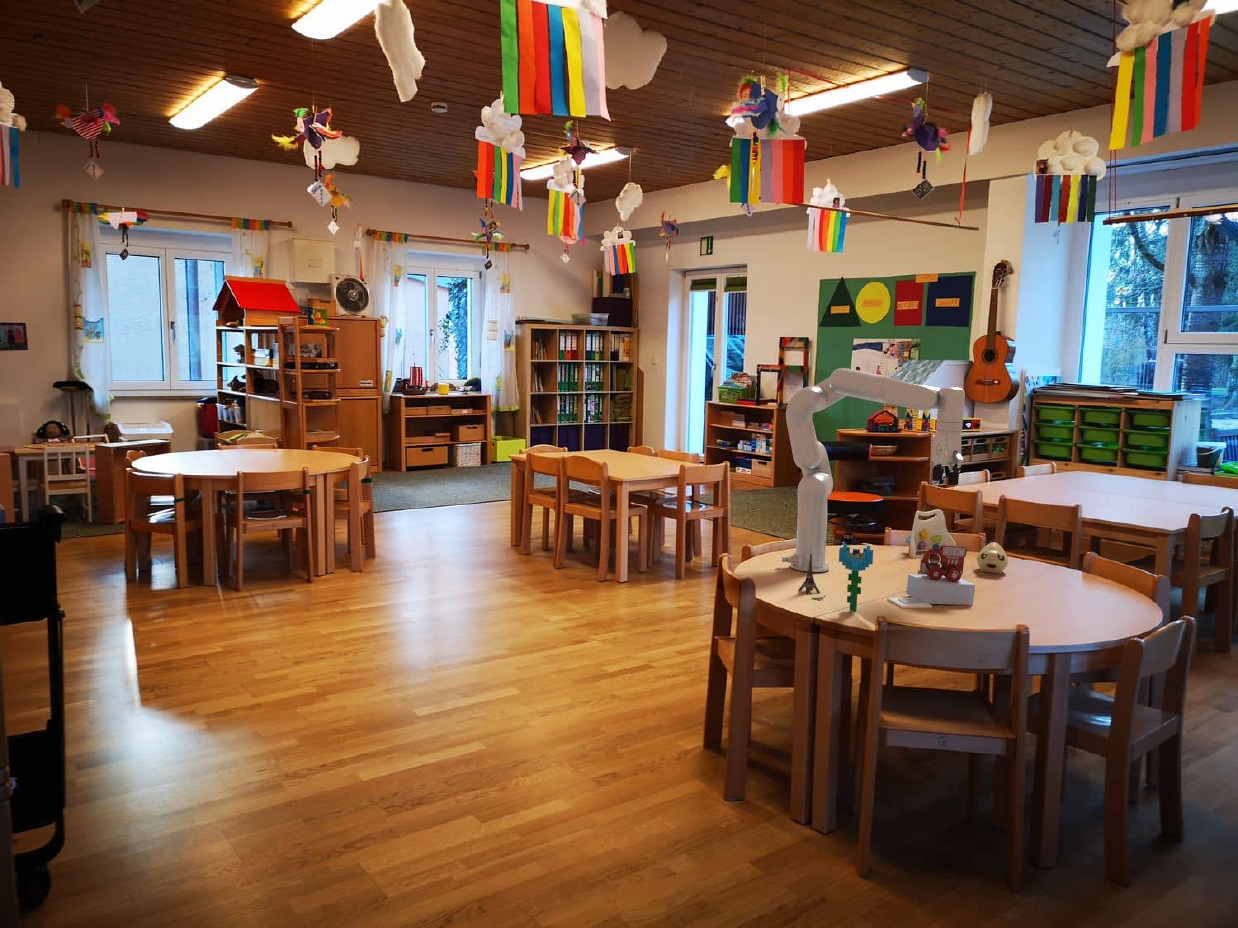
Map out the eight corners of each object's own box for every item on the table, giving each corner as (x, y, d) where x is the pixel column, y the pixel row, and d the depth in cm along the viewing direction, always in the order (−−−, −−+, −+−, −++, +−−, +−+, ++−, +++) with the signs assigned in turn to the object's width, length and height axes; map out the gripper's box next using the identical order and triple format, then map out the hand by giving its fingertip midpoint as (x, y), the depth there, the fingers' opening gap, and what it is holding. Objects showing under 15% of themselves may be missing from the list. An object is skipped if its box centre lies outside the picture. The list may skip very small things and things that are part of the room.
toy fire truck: (916, 574, 262) (920, 540, 261) (959, 578, 261) (963, 544, 260) (921, 579, 255) (925, 544, 254) (965, 583, 254) (969, 548, 253)
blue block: (925, 603, 251) (927, 582, 251) (906, 593, 262) (908, 574, 262) (972, 604, 254) (975, 584, 254) (952, 595, 265) (954, 575, 264)
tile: (902, 608, 248) (902, 604, 248) (887, 599, 257) (887, 596, 257) (931, 607, 250) (932, 604, 250) (916, 599, 259) (916, 596, 258)
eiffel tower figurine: (821, 602, 254) (823, 556, 253) (786, 597, 259) (788, 552, 258) (833, 591, 268) (835, 548, 266) (800, 587, 272) (802, 544, 271)
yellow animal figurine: (974, 575, 292) (976, 544, 291) (976, 568, 303) (978, 538, 302) (1006, 579, 288) (1009, 547, 287) (1007, 572, 299) (1009, 541, 298)
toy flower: (869, 615, 239) (873, 550, 237) (835, 612, 242) (838, 548, 240) (870, 607, 248) (873, 544, 246) (837, 604, 250) (840, 542, 248)
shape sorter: (937, 553, 328) (940, 506, 326) (957, 559, 318) (961, 511, 317) (894, 556, 321) (897, 508, 319) (913, 562, 311) (917, 513, 309)
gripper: (924, 425, 278) (920, 479, 280) (951, 429, 261) (947, 486, 263) (946, 426, 279) (942, 479, 281) (975, 430, 262) (970, 487, 264)
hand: (944, 482), depth 272 cm, fingers open, 9 cm apart
